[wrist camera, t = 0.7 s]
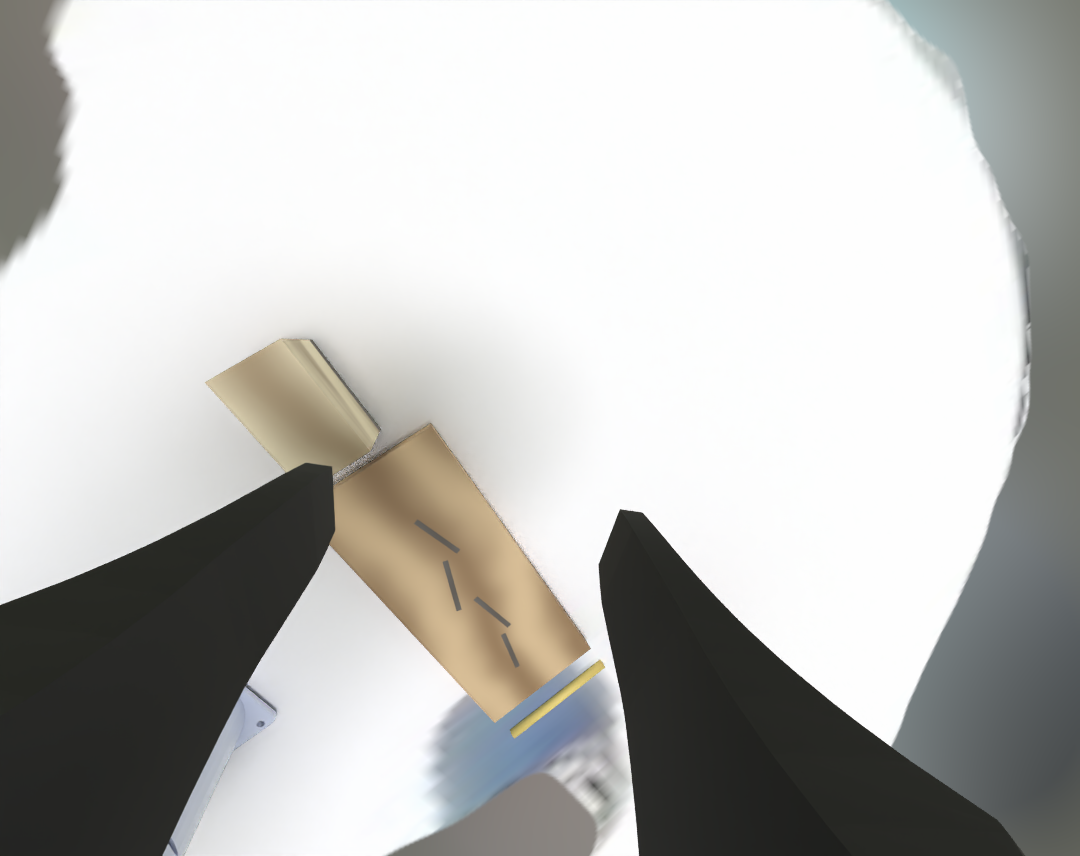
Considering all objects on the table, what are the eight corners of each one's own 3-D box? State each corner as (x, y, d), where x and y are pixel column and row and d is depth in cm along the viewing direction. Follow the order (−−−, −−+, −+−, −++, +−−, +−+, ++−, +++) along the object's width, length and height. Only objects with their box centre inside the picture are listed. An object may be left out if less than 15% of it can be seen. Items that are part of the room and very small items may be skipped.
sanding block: (329, 461, 27) (304, 493, 21) (254, 373, 25) (204, 382, 19) (380, 429, 27) (370, 451, 22) (312, 339, 25) (280, 338, 19)
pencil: (515, 734, 36) (515, 740, 35) (510, 726, 36) (510, 732, 35) (603, 664, 37) (605, 669, 36) (598, 657, 37) (601, 661, 36)
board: (492, 710, 34) (494, 722, 33) (304, 504, 27) (298, 511, 26) (585, 639, 36) (590, 648, 35) (430, 423, 28) (431, 426, 27)
